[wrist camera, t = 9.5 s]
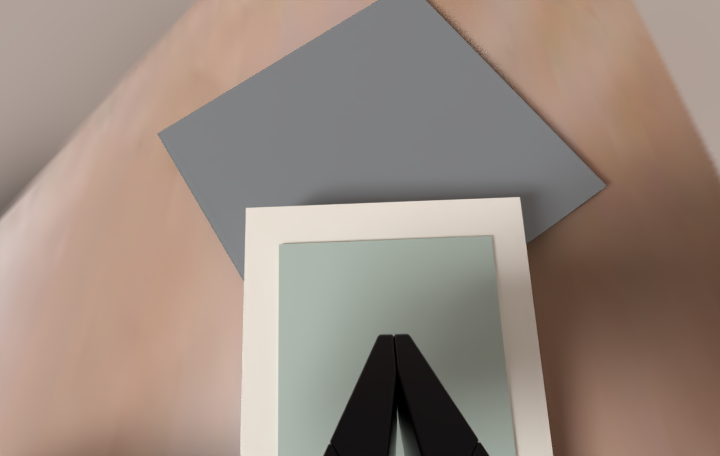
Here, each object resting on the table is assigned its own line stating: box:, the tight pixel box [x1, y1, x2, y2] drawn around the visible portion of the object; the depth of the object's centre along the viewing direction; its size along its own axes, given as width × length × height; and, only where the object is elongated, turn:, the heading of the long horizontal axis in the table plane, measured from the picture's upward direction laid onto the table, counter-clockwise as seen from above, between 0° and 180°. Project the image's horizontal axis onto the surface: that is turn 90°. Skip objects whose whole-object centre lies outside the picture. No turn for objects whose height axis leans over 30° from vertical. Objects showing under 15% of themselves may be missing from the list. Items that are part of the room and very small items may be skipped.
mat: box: [158, 0, 606, 281], centre depth 20 cm, size 17×18×1 cm
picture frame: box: [240, 197, 553, 456], centre depth 15 cm, size 3×12×13 cm
